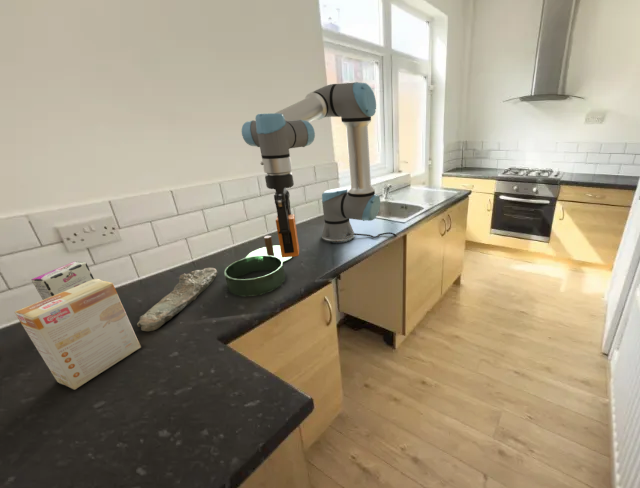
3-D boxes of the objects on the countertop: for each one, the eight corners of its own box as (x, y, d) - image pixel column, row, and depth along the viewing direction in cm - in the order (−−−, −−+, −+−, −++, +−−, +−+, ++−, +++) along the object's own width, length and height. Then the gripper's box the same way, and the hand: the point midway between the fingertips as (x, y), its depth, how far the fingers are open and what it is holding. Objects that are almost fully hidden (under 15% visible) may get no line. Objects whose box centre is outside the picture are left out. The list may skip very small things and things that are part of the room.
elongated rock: (129, 336, 89) (164, 338, 89) (123, 321, 87) (158, 323, 86) (199, 272, 120) (225, 273, 120) (195, 260, 118) (222, 261, 117)
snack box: (299, 250, 103) (294, 214, 98) (298, 256, 98) (293, 219, 93) (283, 251, 102) (277, 215, 97) (281, 257, 97) (275, 220, 92)
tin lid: (297, 246, 144) (294, 226, 140) (294, 265, 126) (291, 243, 122) (250, 250, 140) (246, 230, 137) (241, 270, 122) (236, 248, 119)
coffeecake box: (124, 341, 85) (95, 277, 77) (142, 347, 83) (114, 282, 75) (55, 382, 72) (11, 311, 64) (74, 391, 70) (31, 317, 62)
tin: (287, 268, 123) (284, 253, 120) (282, 293, 106) (279, 276, 103) (235, 273, 120) (231, 258, 117) (222, 300, 103) (217, 282, 100)
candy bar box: (96, 307, 101) (73, 260, 94) (109, 308, 100) (87, 261, 93) (57, 329, 91) (29, 278, 84) (71, 330, 90) (44, 280, 83)
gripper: (269, 168, 97) (280, 239, 107) (259, 179, 81) (274, 262, 90) (294, 167, 98) (303, 237, 108) (289, 178, 82) (301, 259, 92)
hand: (290, 248), depth 99 cm, fingers closed on snack box, 5 cm apart
